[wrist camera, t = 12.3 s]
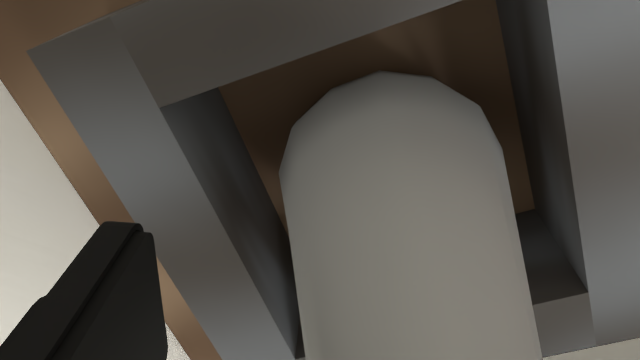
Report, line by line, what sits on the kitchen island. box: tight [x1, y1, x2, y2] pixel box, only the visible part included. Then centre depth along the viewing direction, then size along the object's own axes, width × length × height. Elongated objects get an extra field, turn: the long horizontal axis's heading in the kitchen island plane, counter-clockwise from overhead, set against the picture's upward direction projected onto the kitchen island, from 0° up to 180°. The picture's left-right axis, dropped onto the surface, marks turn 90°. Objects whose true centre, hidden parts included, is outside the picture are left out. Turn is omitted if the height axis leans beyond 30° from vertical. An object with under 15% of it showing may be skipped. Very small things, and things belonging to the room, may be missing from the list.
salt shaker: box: [279, 70, 543, 360], centre depth 10 cm, size 6×6×13 cm
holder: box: [0, 0, 640, 360], centre depth 14 cm, size 20×20×5 cm
